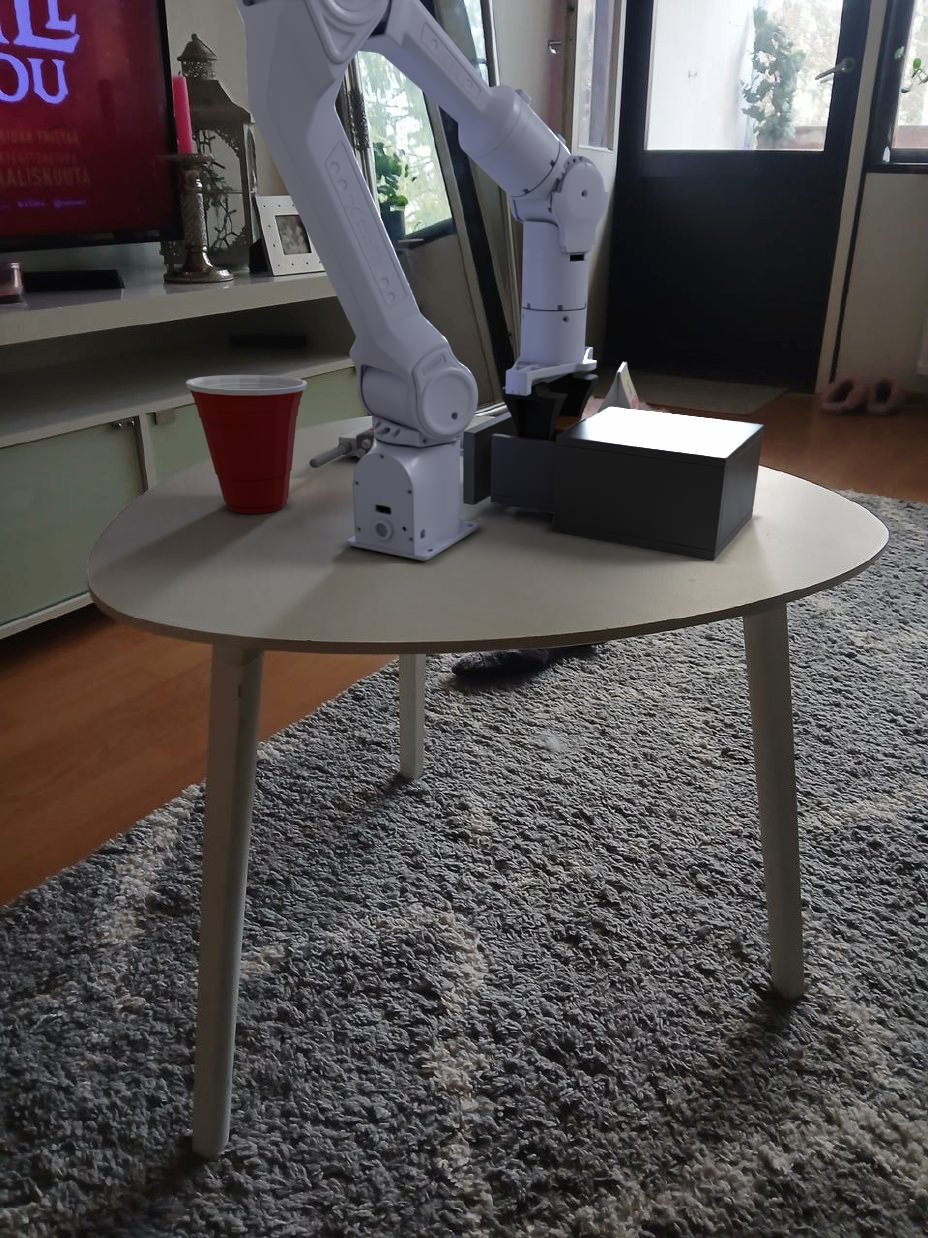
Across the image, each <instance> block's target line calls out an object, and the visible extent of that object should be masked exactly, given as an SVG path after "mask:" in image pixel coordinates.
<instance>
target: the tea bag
mask: <svg viewBox="0 0 928 1238" xmlns="http://www.w3.org/2000/svg"><path fill="white" fill-rule="evenodd" d="M609 407H613V408H622V409H631V410H639V397H638V394H637V391H636V389H635V386H634V383H633V381H632V379H631V375H630V372H629V369H628V362H627V361H622V363H621V364H620V367H618V370H617V371H616V373H615V377H614V380H613V382H612V384H611V386H610V389H609V390H608V392H607V394H606V396H605V397H604V399H603V401H602V402H601V404H600V406H599V408H598V409H597V414H598V413H600V412H602V411H604V410H606V409H608V408H609Z"/></svg>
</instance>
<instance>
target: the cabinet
mask: <svg viewBox="0 0 928 1238" xmlns="http://www.w3.org/2000/svg"><path fill="white" fill-rule="evenodd" d="M586 419H587V420H585V421H583V422H581V423H579V424H578V425H576V426H574V427H572V428H570V429H568V430H566V431H564V432H562V433H561V434H559V435H557V436H556V450H555V474H554V498H553V513H552V523H551V531H552V532H556V533H560V534H567V535H572V536H577V537H582V538H589V539H594V540H599V541H605V542H611V543H616V544H621V545H627V546H632V547H633V546H634V547H638V548H643V549H650V550H654V551H661V552H665V553H671V554H677V555H682V556H688V557H694V558H700V559H705V560H711V561H715V560H717V558H718V557H719V555H721V554H722V552H723V551H724V550H725V549H726V548H727V546H728V545H729V544H731V542H732V540H733V539H734V538H735V537H736V536H737V535H738V534H739V533H740V531H741V530H742V529H743V528H744V527H745V526H746V525H747V523H748V522H749V521H750V520H751V519H752V517H753V512H754V505H755V497H756V491H757V482H758V477H759V468H760V461H761V453H762V445H763V437H764V432H765V431H764V430H765V425H764V424H759V423H751V422H743V421H733V420H726V419H725V420H724V419H716V418H707V417H698V416H691V415H683V414H675V413H674V414H672V413H665V412H664V413H663V412H656V411H647V410H639V409H638V410H631V409H622V408H613V407H609V408H608V409H606V410H604V411H602V412H600V413H598V412H597V413H596V414H594V415H592V416H591V417H589V418H586Z"/></svg>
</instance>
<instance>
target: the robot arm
mask: <svg viewBox="0 0 928 1238" xmlns="http://www.w3.org/2000/svg"><path fill="white" fill-rule="evenodd" d="M424 5H425V4H423V3H422V2H421V0H235V6H236V8H237V11H238V13H239V16H240V18H241V20H242V23H243V26H244V49H245V50H244V52H245V53H244V54H245V78H246V79H245V80H246V99H247V103H248V104H247V105H248V107H249V110H250V113H251V116H252V118H253V120H254V122H255V124H256V127H257V129H258V131H259V133H260V136H261V137H262V140H263V142H264V144H265V146H266V148H267V151H268V152H269V154H270V156H271V159H272V160H273V163H274V165H275V167H276V170H277V171H278V174H279V176H280V178H281V180H282V182H283V184H284V187H285V188H286V190H287V193H288V195H289V197H290V200H291V201H292V203H293V206H294V208H295V210H296V212H297V214H298V216H299V219H300V221H301V223H302V225H303V227H304V229H305V231H306V233H307V235H308V237H309V239H310V242H311V244H312V246H313V248H314V251H315V252H316V254H317V257H318V259H319V261H320V263H321V265H322V268H323V270H324V271H325V273H326V276H327V278H328V281H329V282H330V284H331V286H332V288H333V291H334V292H335V295H336V297H337V299H338V301H339V304H340V306H341V308H342V310H343V312H344V313H345V316H346V318H347V320H348V323H349V325H350V326H351V328H352V331H353V333H354V335H355V340H354V342H353V344H352V346H351V348H350V350H349V352H348V353H349V357H350V359H351V361H352V363H353V366H354V369H355V373H356V374H355V375H356V391H357V397H358V400H359V402H360V404H361V406H362V408H363V409H364V410H365V412H367V413H368V414H369V415H370V416H371V422H372V423H371V427H372V429H373V430H374V440H373V445H372V447H371V449H370V451H369V452H368V453H367V454H366V455H364V456H363V457H362V458H361V459H359V460H358V461H357V463H356V465H355V467H354V470H353V473H352V495H353V497H352V498H353V515H354V517H353V519H354V535H353V536H351V537H349V538H348V539H347V540H346V544H347V545H348V546H350V547H355V548H359V549H364V550H369V551H373V552H379V553H383V554H387V555H393V556H398V557H402V558H406V559H412V560H416V561H417V560H418V561H422V562H423V561H425V562H426V561H429V560H431V559H432V558H434V557H435V556H437V555H438V554H440V553H442V552H443V551H445V550H447V549H448V548H450V547H451V546H453V545H454V544H456V543H458V542H459V541H461V540H463V539H464V538H467V536H469V535H470V534H472V533H474V532H475V531H477V530H479V528H480V524H479V523H478V522H475V521H469V520H464V519H461V456H460V440H462V439H463V431H466V430H467V428H468V427H469V426H470V425H471V423H472V422H473V419H474V417H475V415H476V412H477V409H478V403H479V389H478V385H477V381H476V378H475V377H474V376H473V373H472V371H470V369H468V367H467V366H465V365H464V364H463V363H461V362H460V361H459V359H457V357H456V356H455V355H454V353H453V351H452V348H451V346H450V344H449V341H448V340H447V339H446V337H445V336H444V335H443V334H442V333H441V332H440V331H439V330H438V329H437V328H435V326H434V325H433V324H431V322H430V321H429V320H428V319H427V318H426V317H425V316H424V315H423V314H422V313H421V311H420V309H419V308H420V307H419V306H418V304H417V301H416V299H415V296H414V294H413V291H412V289H411V286H410V284H409V282H408V279H407V277H406V275H405V273H404V270H403V268H402V266H401V263H400V261H399V258H398V256H397V253H396V251H395V248H394V246H393V244H392V240H391V239H390V237H389V234H388V232H387V230H386V227H385V224H384V222H383V220H382V218H381V214H380V213H379V211H378V208H377V205H376V203H375V200H374V198H373V196H372V194H371V191H370V189H369V186H368V183H367V182H366V179H365V177H364V175H363V172H362V170H361V168H360V167H361V166H360V165H359V162H358V160H357V157H356V155H355V152H354V150H353V148H352V146H351V143H350V140H349V138H348V136H347V134H346V132H345V129H344V125H342V122H341V119H340V117H339V114H338V112H337V110H336V100H337V98H338V94H339V91H340V88H341V86H342V83H343V81H344V78H345V76H346V75H345V74H346V72H347V69H348V66H349V64H350V63H351V62H352V60H353V59H354V58H355V57H356V55H357V54H358V53H359V52H365V53H366V52H367V53H373V54H379V55H381V56H382V57H384V58H385V59H386V60H387V61H388V62H389V63H390V64H391V65H392V66H393V67H395V68H396V69H397V70H398V71H399V72H401V73H402V74H403V75H404V76H405V77H406V78H407V79H408V80H410V82H411V83H412V84H414V86H416V87H417V88H418V89H419V90H420V91H422V92H423V94H425V95H426V96H427V97H429V99H430V100H432V101H433V102H434V103H435V104H436V105H437V106H439V108H441V109H442V110H443V111H444V112H445V113H446V114H448V116H449V117H451V118H452V119H453V120H454V121H455V122H456V123H457V125H458V128H457V129H458V135H457V136H458V144H459V147H460V149H461V150H462V151H463V152H464V153H465V154H466V155H467V156H468V157H469V158H470V159H471V160H472V161H473V162H474V163H475V164H476V165H477V166H478V167H479V168H480V169H481V170H482V171H483V172H484V173H485V174H486V175H488V177H490V179H492V181H493V182H495V184H497V186H499V188H501V189H502V190H503V191H504V192H505V193H506V195H507V198H508V205H509V210H510V213H511V214H512V217H513V219H514V220H515V221H516V222H520V223H521V224H522V225H523V228H522V230H523V232H522V233H523V234H522V235H523V236H522V270H521V271H522V274H521V310H520V319H521V320H520V350H519V351H520V352H519V354H520V355H519V357H518V358H517V359H516V361H515V363H514V364H513V366H512V367H511V368H510V369H507V370H506V371H505V386H503V387H502V388H501V399H502V401H503V403H504V404H505V406H506V408H507V410H508V412H510V414H511V416H512V419H513V421H514V424H515V427H516V431H517V435H518V437H524V438H531V439H539V440H546V441H553V435H554V429H555V425H556V421H557V418H558V415H565V416H573V417H581V418H583V414H584V412H585V409H586V406H587V404H588V402H589V400H590V398H591V396H592V394H593V392H594V391H595V389H596V387H597V386H598V382H599V376H598V375H597V374H592V373H584V372H591V371H594V370H596V369H597V360H594V359H593V353H594V348H593V347H590V346H586V330H587V329H586V328H587V314H588V313H587V312H588V311H587V310H588V308H587V307H588V294H589V293H588V291H589V272H590V258H591V257H590V256H591V255H590V254H591V251H592V250H593V247H594V245H595V244H596V233H597V228H598V226H599V223H600V222H601V220H602V218H603V216H604V215H605V213H606V210H607V208H608V202H609V196H610V193H609V192H608V191H606V190H605V182H604V179H603V176H602V174H601V172H600V170H599V169H598V167H597V165H596V164H595V163H594V162H593V160H591V159H590V158H589V157H586V156H584V155H571V153H570V150H569V149H568V148H567V146H566V144H567V143H566V142H567V141H566V139H565V138H563V136H562V135H561V134H560V133H554V132H553V131H552V130H551V129H550V127H548V125H547V124H546V123H545V122H544V121H543V120H542V119H541V117H540V116H538V114H537V113H536V112H535V110H533V108H531V107H530V104H531V102H532V98H531V97H530V96H529V94H528V93H527V92H526V91H525V90H524V89H523V88H518V89H514V88H513V87H512V86H510V85H505V84H501V85H500V84H499V85H494V86H489V85H488V83H487V82H486V81H485V79H484V78H483V77H482V76H481V74H480V73H479V72H478V71H477V70H476V68H475V67H474V66H473V64H471V62H470V61H469V60H468V58H467V57H466V56H465V55H464V54H463V52H462V51H461V50H460V49H459V48H458V46H457V45H456V44H455V42H454V41H453V40H452V39H451V37H450V36H449V35H448V34H447V32H446V31H445V30H444V29H443V28H442V26H441V25H440V24H439V23H438V21H437V20H436V19H435V18H434V16H433V15H432V14H431V13H430V11H429V10H428V9H427V8H426V7H425V6H424Z"/></svg>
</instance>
